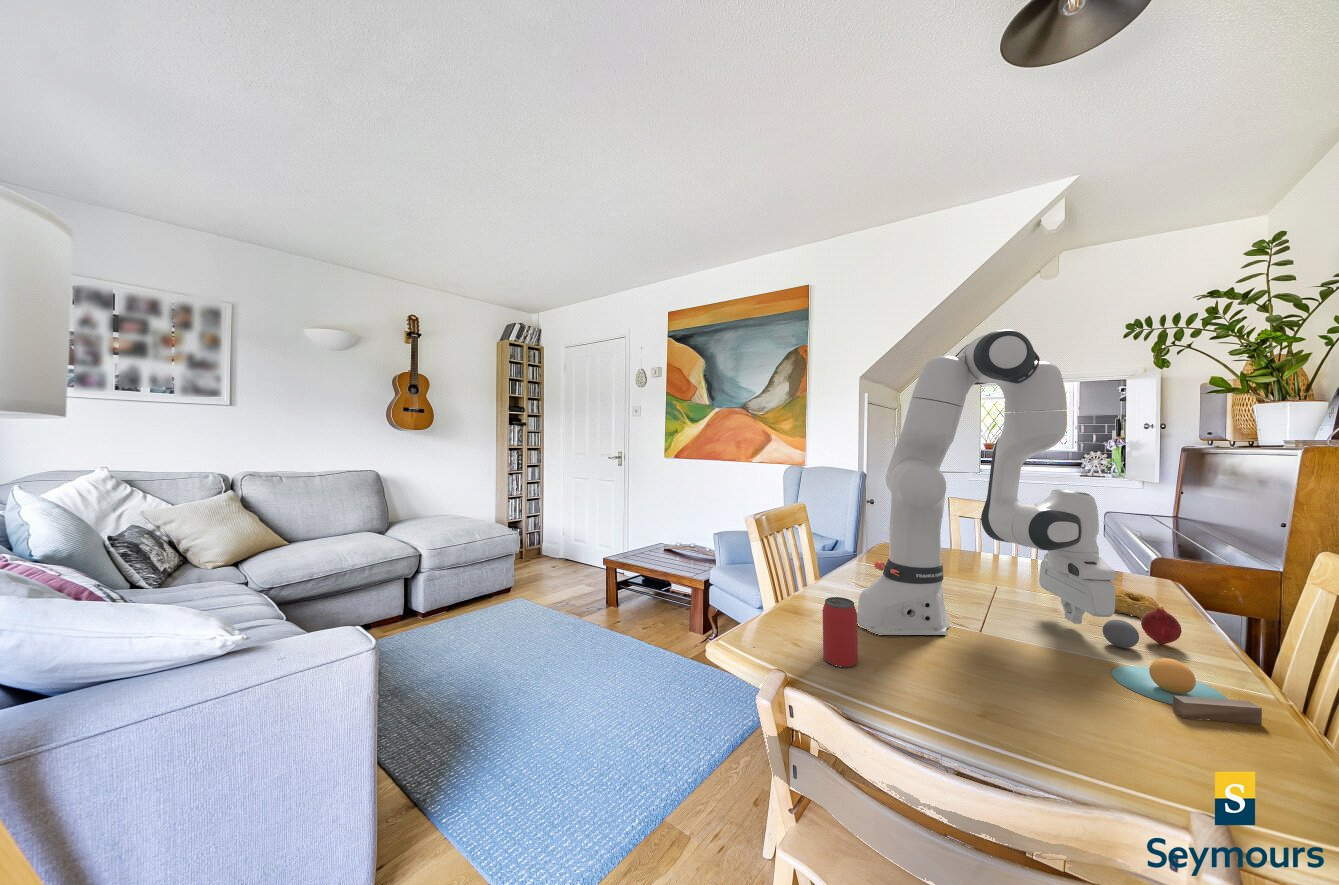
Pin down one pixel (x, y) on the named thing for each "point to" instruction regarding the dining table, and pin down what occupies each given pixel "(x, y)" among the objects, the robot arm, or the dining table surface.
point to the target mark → (1144, 685)
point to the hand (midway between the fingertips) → (1073, 621)
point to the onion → (1161, 626)
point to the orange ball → (1172, 676)
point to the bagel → (1133, 603)
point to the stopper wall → (1217, 709)
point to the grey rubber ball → (1120, 633)
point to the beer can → (840, 632)
